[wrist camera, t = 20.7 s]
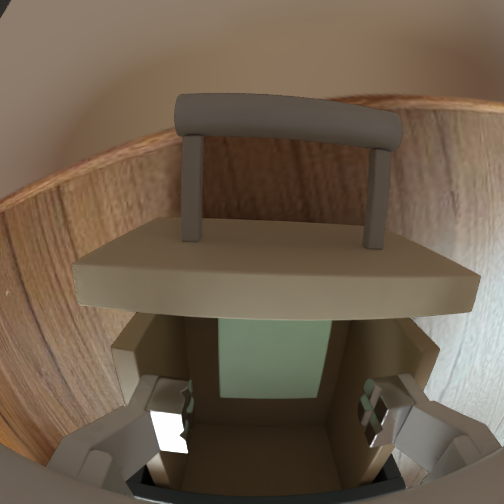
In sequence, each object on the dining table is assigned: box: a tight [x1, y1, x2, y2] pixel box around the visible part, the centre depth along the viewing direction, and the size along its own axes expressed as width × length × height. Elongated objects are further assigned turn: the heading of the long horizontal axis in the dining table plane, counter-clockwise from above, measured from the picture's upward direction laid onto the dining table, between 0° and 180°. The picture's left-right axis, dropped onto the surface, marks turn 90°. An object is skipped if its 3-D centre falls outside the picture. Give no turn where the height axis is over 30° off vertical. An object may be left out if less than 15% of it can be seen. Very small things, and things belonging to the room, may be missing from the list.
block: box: [218, 318, 333, 399], centre depth 12 cm, size 4×4×4 cm
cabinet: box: [125, 453, 406, 504], centre depth 15 cm, size 15×13×10 cm
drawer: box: [72, 93, 481, 496], centre depth 11 cm, size 18×11×8 cm, turn 178°
